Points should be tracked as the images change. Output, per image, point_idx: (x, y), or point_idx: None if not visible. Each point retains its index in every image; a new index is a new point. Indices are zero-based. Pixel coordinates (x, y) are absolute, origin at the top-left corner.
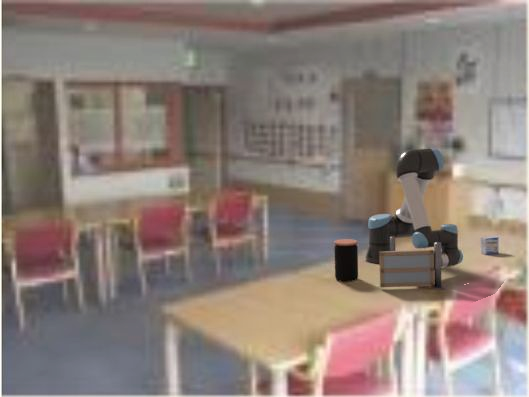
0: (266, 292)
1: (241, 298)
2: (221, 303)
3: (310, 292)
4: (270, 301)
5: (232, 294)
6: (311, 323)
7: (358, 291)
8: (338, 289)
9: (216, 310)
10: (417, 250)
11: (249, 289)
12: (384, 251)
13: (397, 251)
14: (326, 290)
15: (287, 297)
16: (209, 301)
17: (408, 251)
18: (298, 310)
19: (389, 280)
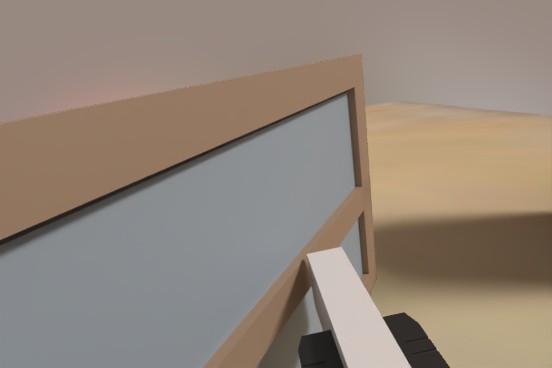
0: (445, 129)
1: (409, 120)
2: (388, 115)
3: (416, 160)
4: (370, 134)
5: (443, 114)
6: None
7: (374, 225)
8: (430, 195)
9: None
10: (43, 115)
11: (480, 118)
12: (344, 57)
13: (274, 70)
14: (427, 178)
15: (387, 143)
16: (406, 110)
17: (175, 89)
18: None
19: None
